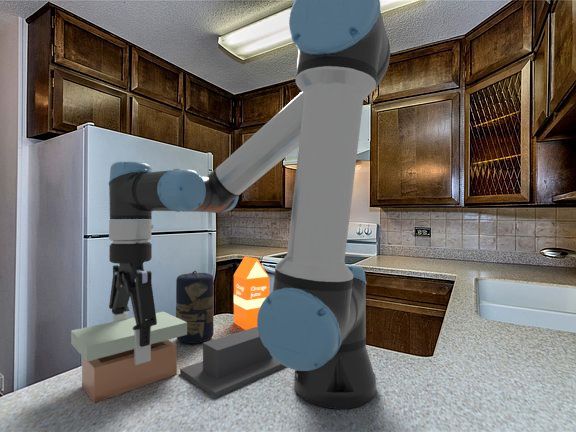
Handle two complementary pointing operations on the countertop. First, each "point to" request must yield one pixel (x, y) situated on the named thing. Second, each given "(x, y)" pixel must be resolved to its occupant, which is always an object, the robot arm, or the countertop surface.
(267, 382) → the countertop surface
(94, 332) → the board
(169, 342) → the dish
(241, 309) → the orange juice
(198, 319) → the canister
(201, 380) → the mat stand
